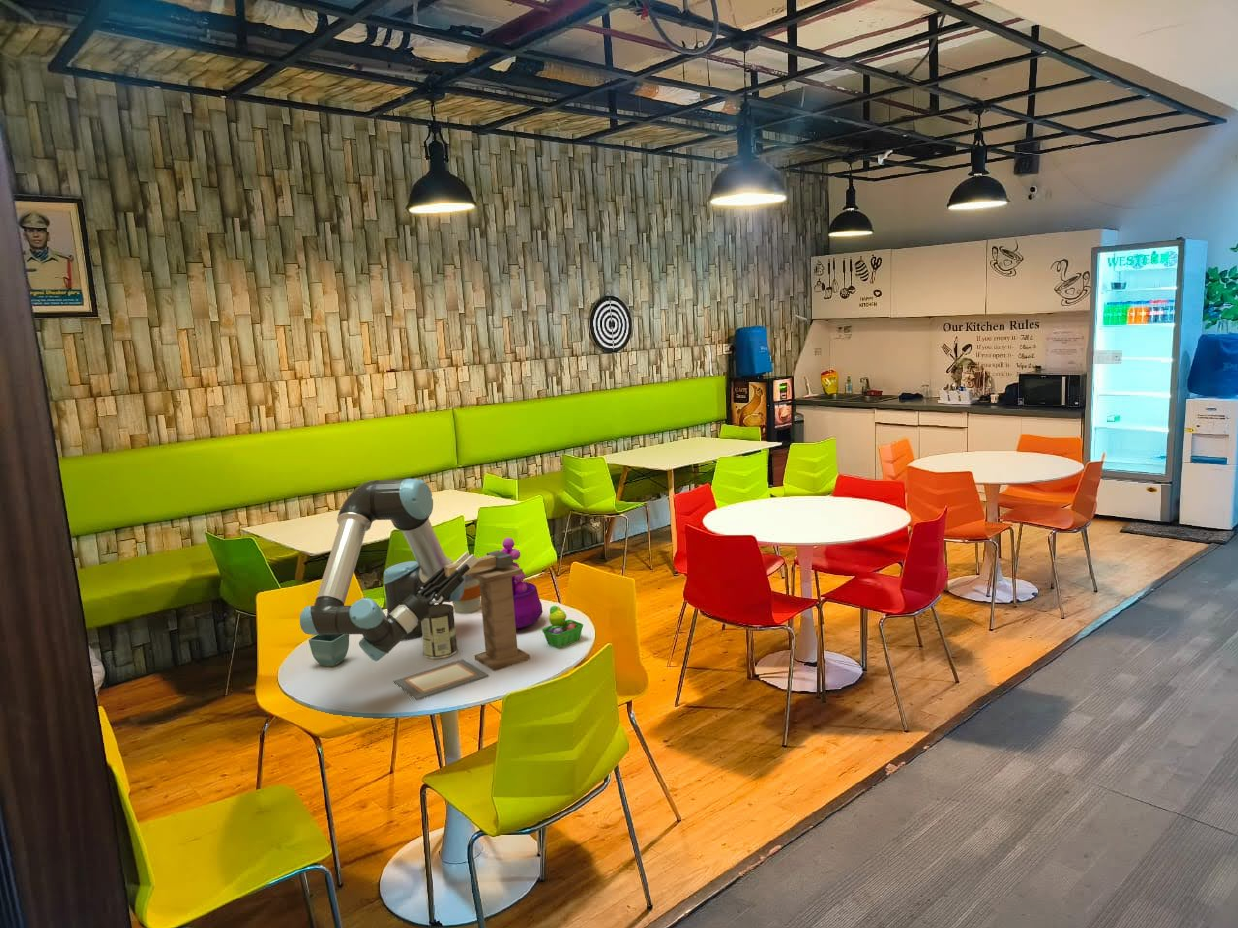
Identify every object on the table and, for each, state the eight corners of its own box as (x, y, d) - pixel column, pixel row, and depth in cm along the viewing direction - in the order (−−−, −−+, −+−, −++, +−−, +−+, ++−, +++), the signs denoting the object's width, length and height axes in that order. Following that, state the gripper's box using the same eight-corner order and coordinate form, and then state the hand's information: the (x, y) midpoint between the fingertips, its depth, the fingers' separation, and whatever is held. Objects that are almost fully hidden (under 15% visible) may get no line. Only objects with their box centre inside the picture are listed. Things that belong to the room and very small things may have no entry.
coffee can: (444, 643, 269) (440, 601, 267) (464, 650, 262) (460, 607, 260) (417, 654, 262) (412, 610, 259) (436, 661, 254) (432, 617, 252)
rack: (475, 659, 254) (466, 570, 250) (509, 648, 261) (502, 561, 257) (494, 671, 245) (486, 578, 240) (529, 659, 252) (522, 568, 247)
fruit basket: (556, 650, 258) (554, 615, 256) (539, 643, 264) (536, 609, 262) (585, 639, 265) (583, 605, 263) (568, 633, 272) (565, 599, 270)
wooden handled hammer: (441, 574, 243) (440, 564, 242) (499, 559, 254) (498, 550, 253) (453, 580, 236) (452, 569, 236) (512, 565, 247) (511, 555, 247)
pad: (393, 682, 241) (393, 680, 241) (462, 660, 254) (462, 658, 254) (416, 700, 229) (416, 697, 228) (488, 676, 242) (488, 673, 241)
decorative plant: (477, 625, 284) (469, 538, 279) (525, 611, 295) (518, 527, 290) (504, 639, 269) (496, 548, 264) (553, 624, 280) (547, 537, 275)
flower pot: (353, 658, 261) (350, 630, 260) (335, 670, 253) (331, 641, 252) (329, 656, 264) (326, 629, 263) (311, 667, 256) (307, 639, 254)
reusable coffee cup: (466, 617, 292) (461, 576, 290) (442, 611, 300) (437, 571, 297) (492, 606, 302) (488, 566, 299) (468, 601, 309) (464, 561, 307)
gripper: (405, 615, 242) (466, 560, 252) (430, 630, 229) (492, 571, 239) (391, 597, 238) (452, 542, 248) (414, 610, 226) (478, 552, 236)
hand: (472, 556), depth 244 cm, fingers closed on wooden handled hammer, 3 cm apart
